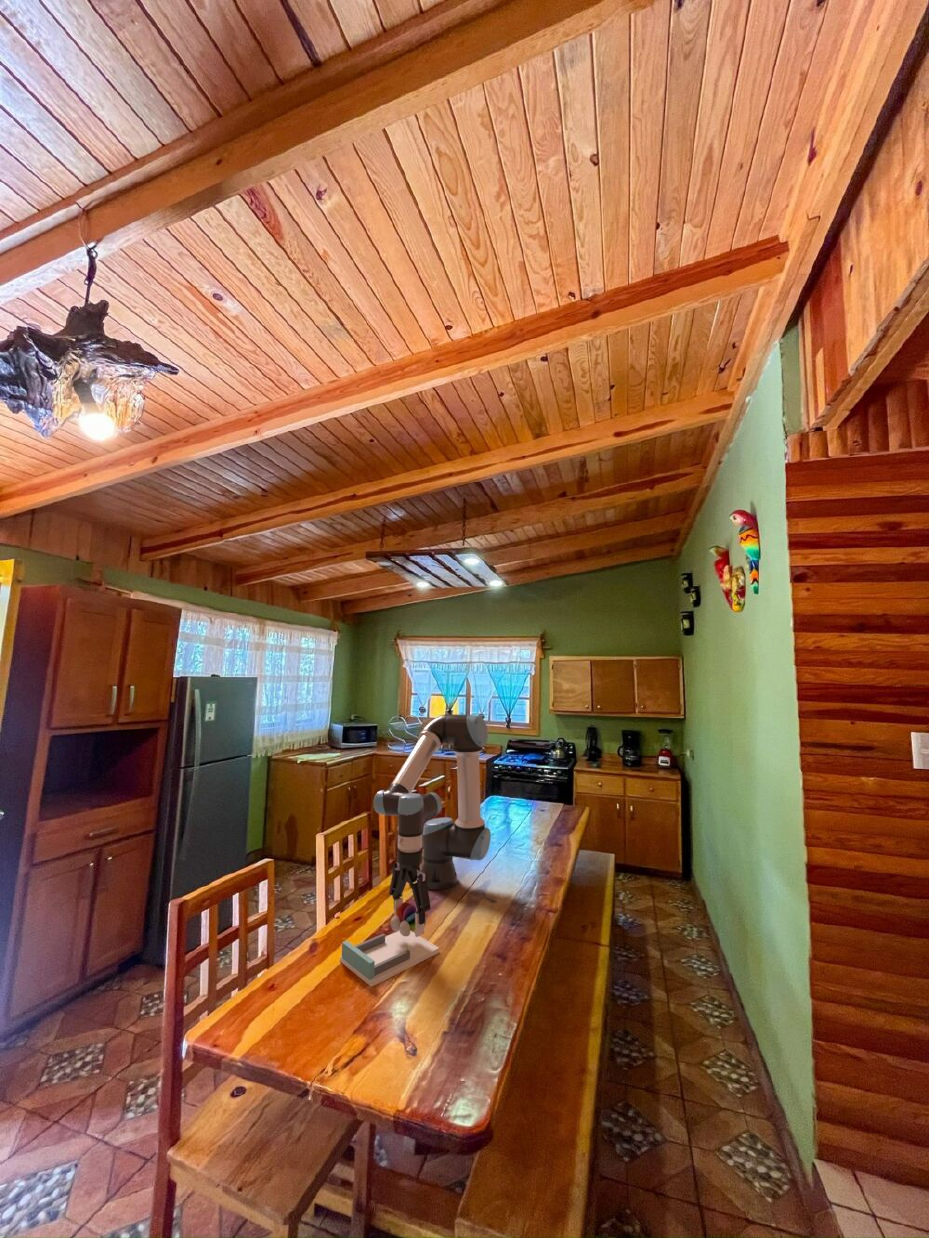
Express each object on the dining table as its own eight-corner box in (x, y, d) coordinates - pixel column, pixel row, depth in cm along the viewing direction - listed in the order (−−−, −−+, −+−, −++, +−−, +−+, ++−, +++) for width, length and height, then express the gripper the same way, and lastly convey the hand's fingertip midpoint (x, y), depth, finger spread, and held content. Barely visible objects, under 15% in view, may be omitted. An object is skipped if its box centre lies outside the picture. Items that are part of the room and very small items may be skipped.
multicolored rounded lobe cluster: (409, 919, 149) (409, 894, 150) (429, 930, 142) (430, 904, 143) (386, 929, 143) (387, 902, 144) (406, 941, 136) (407, 913, 137)
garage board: (405, 931, 151) (406, 914, 152) (439, 952, 140) (439, 932, 141) (339, 960, 136) (340, 941, 136) (371, 986, 124) (371, 964, 125)
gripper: (378, 842, 151) (376, 919, 148) (423, 861, 135) (422, 947, 132) (398, 837, 156) (396, 911, 153) (443, 854, 140) (443, 938, 137)
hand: (408, 928), depth 143 cm, fingers closed on multicolored rounded lobe cluster, 10 cm apart
